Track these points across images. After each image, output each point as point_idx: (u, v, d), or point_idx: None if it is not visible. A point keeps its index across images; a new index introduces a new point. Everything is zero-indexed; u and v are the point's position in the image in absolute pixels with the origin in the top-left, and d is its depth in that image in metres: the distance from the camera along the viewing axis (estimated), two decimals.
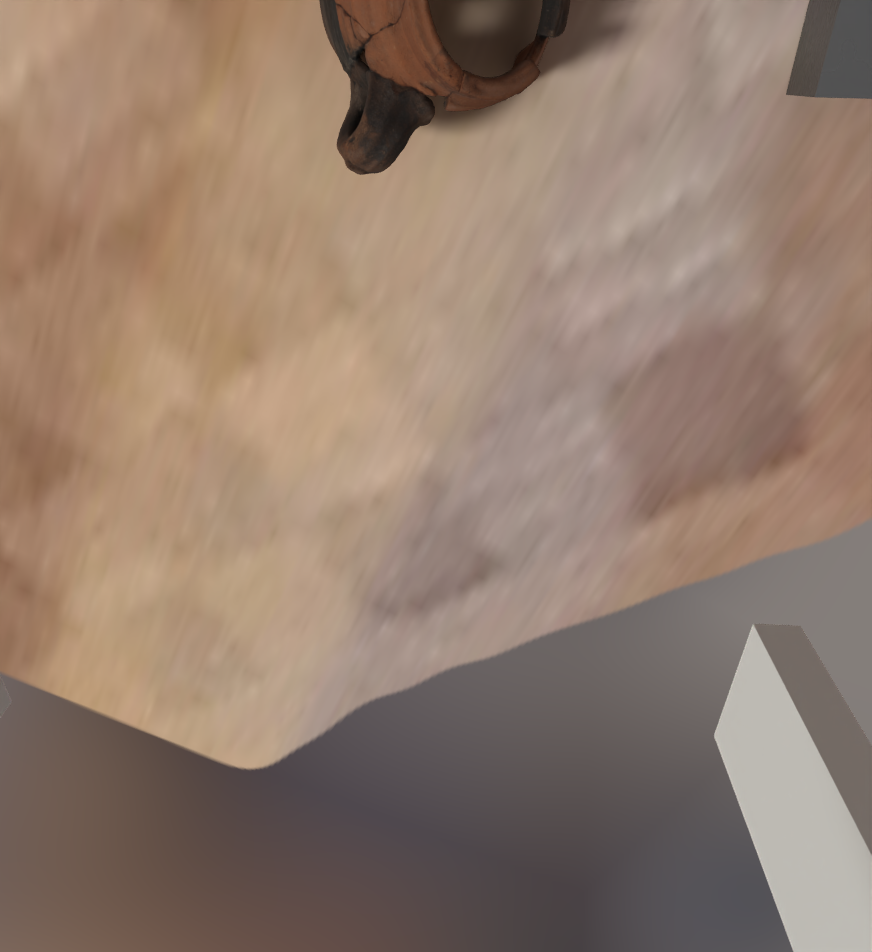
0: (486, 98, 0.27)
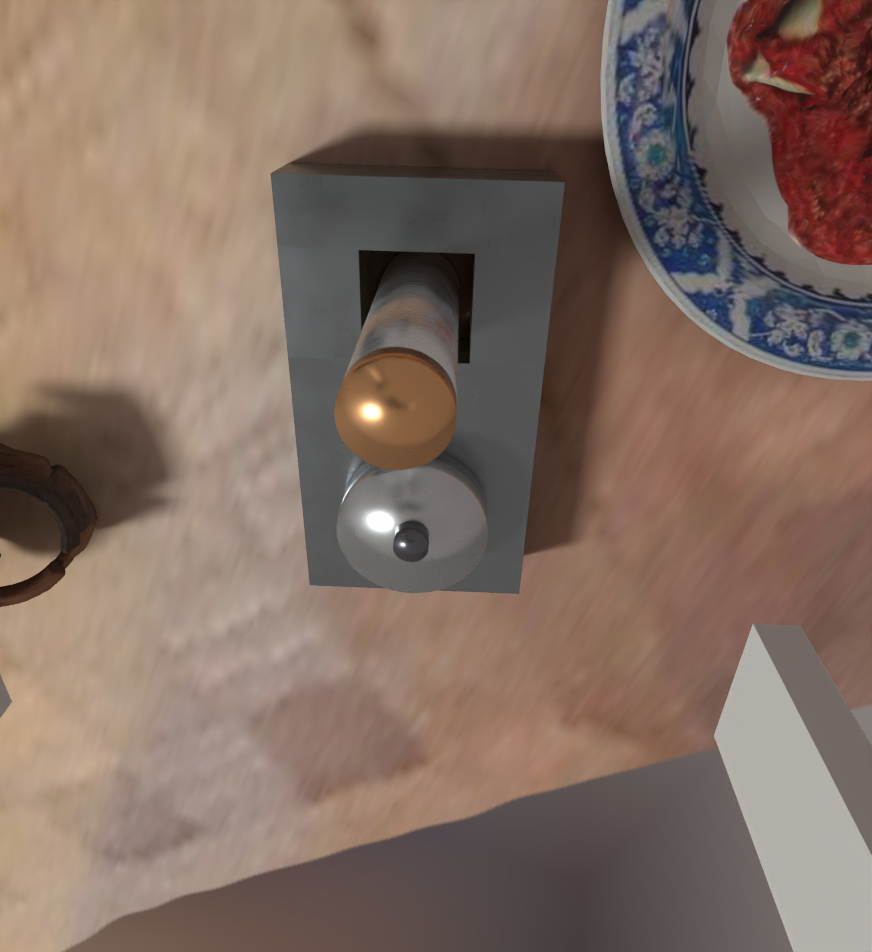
0: (12, 604, 0.34)
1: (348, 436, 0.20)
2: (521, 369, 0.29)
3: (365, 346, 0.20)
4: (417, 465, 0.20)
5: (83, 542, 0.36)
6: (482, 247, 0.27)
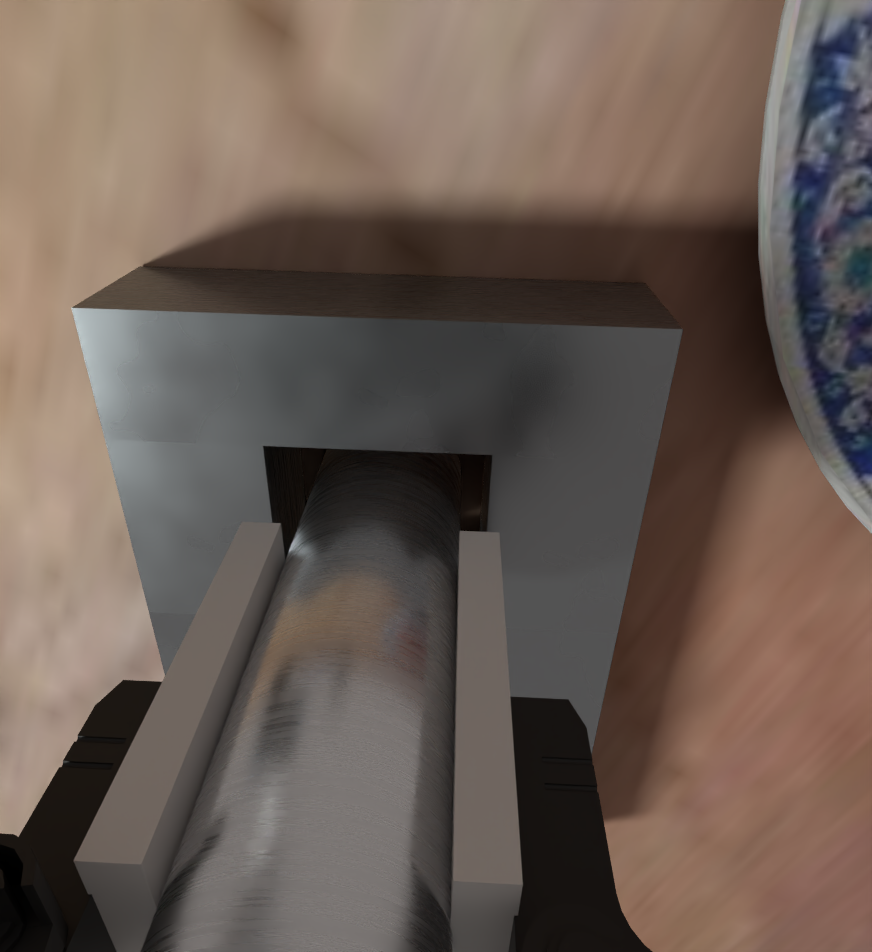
0: None
1: None
2: (573, 637, 0.16)
3: (190, 895, 0.07)
4: None
5: None
6: (507, 445, 0.13)
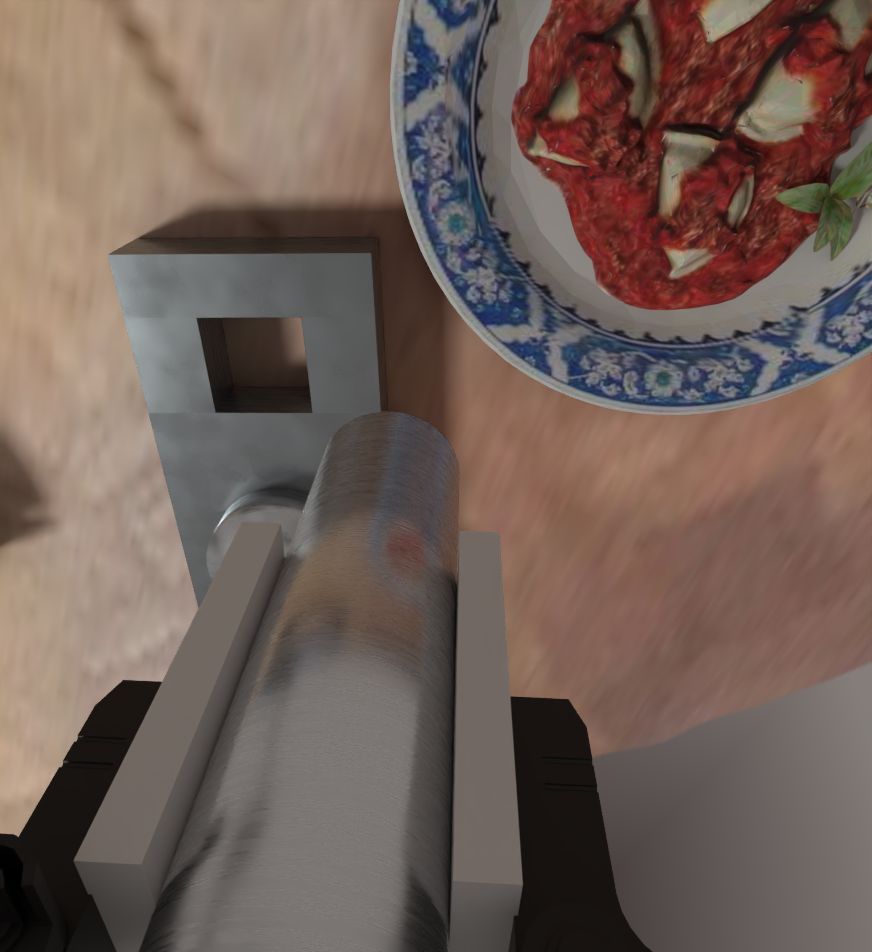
0: None
1: None
2: None
3: (188, 895, 0.07)
4: None
5: None
6: (307, 312, 0.29)
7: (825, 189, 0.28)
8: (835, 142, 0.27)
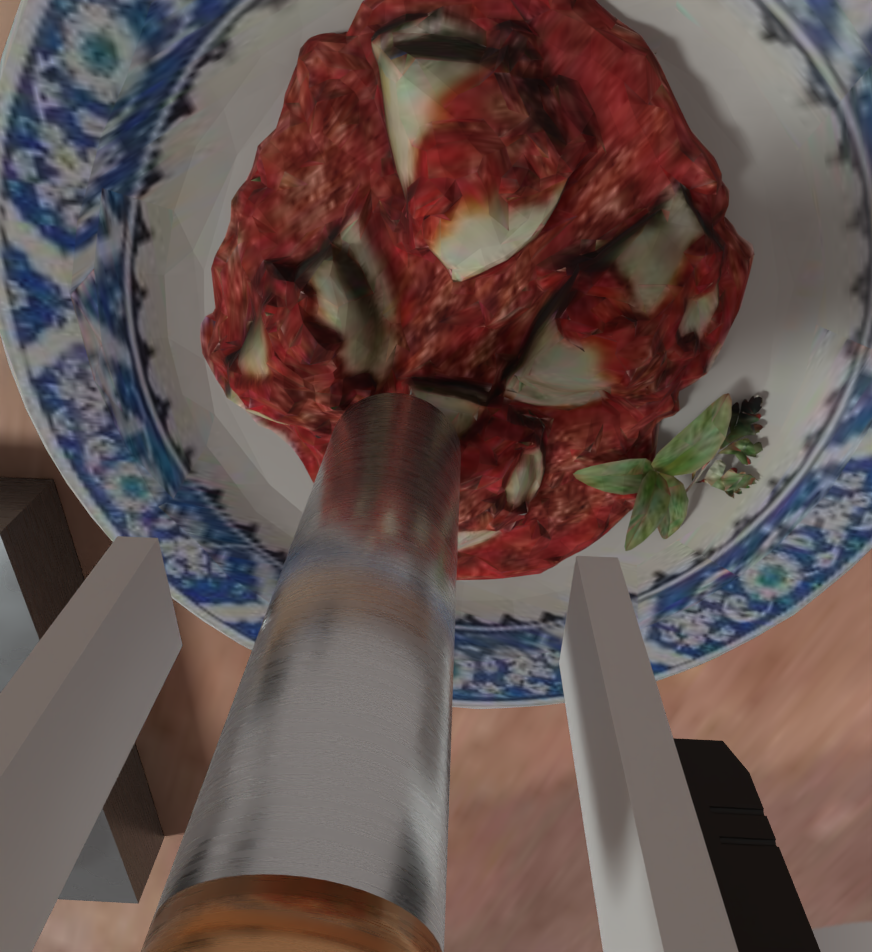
0: None
1: None
2: None
3: (216, 813, 0.08)
4: None
5: None
6: None
7: (644, 465, 0.20)
8: (651, 411, 0.19)
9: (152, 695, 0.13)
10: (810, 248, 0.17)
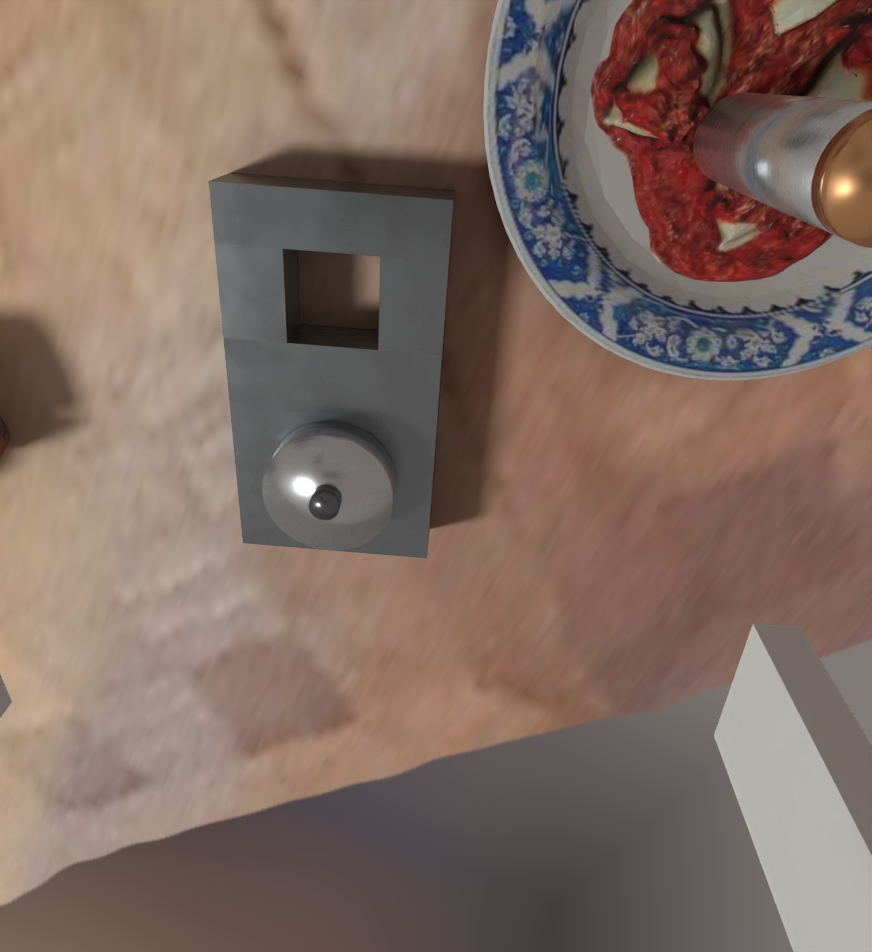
0: None
1: (835, 203, 0.18)
2: (422, 357, 0.34)
3: (844, 113, 0.19)
4: None
5: None
6: (386, 251, 0.32)
7: None
8: None
9: None
10: None
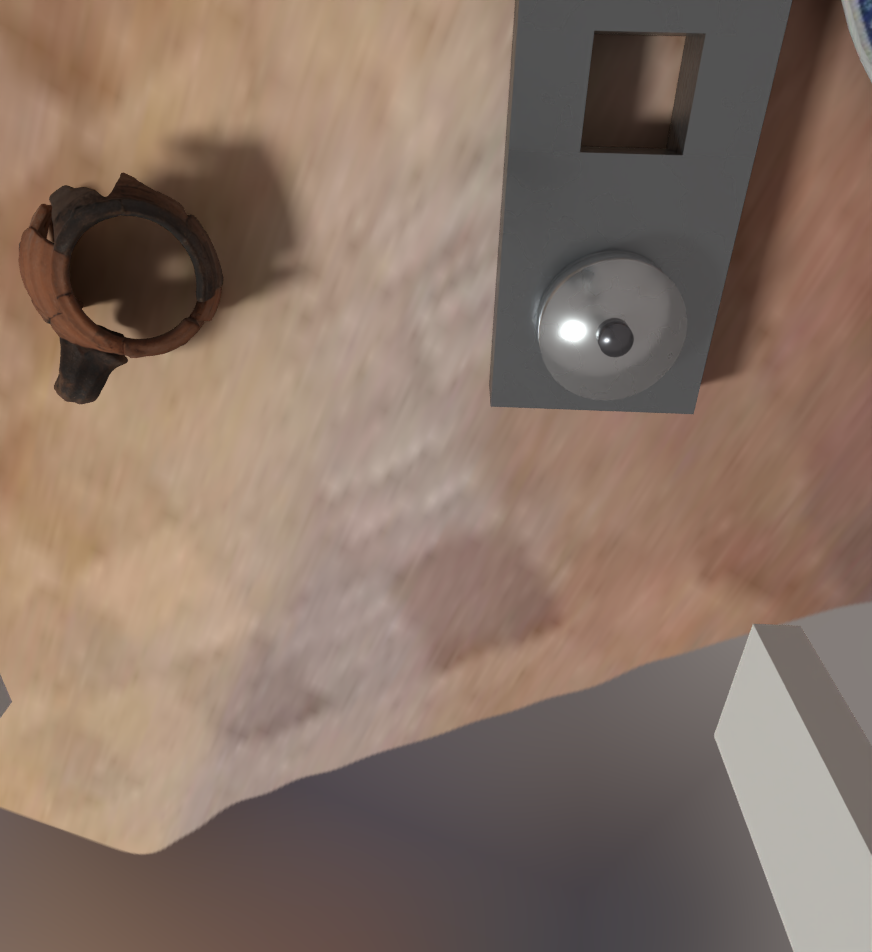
0: (151, 354, 0.34)
1: None
2: (731, 161, 0.31)
3: None
4: None
5: (213, 306, 0.36)
6: (714, 26, 0.28)
7: None
8: None
9: None
10: None
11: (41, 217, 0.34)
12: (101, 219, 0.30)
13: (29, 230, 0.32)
